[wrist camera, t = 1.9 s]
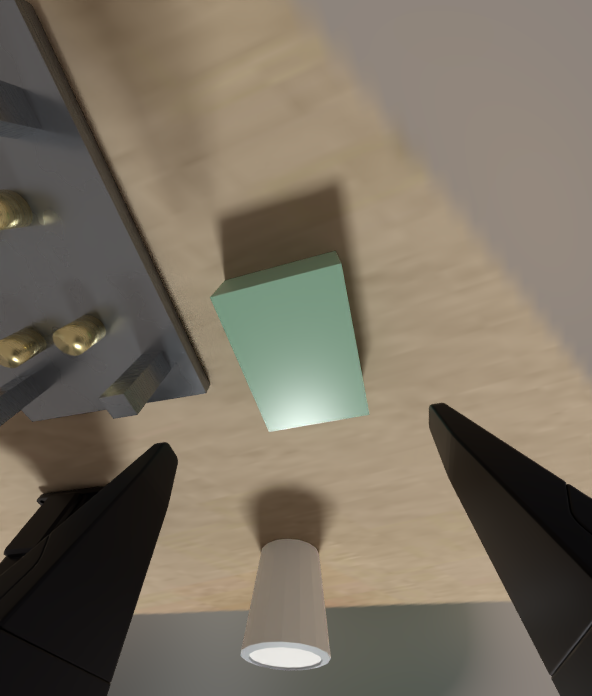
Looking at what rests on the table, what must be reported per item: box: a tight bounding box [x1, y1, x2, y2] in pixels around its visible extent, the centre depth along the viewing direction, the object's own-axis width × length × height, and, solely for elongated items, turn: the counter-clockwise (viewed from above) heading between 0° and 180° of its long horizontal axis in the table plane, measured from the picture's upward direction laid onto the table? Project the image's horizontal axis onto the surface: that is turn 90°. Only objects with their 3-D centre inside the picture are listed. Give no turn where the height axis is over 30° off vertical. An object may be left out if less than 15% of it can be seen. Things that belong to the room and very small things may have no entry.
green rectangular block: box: [210, 251, 369, 432], centre depth 14 cm, size 8×6×3 cm
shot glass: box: [241, 539, 331, 670], centre depth 24 cm, size 7×7×7 cm
